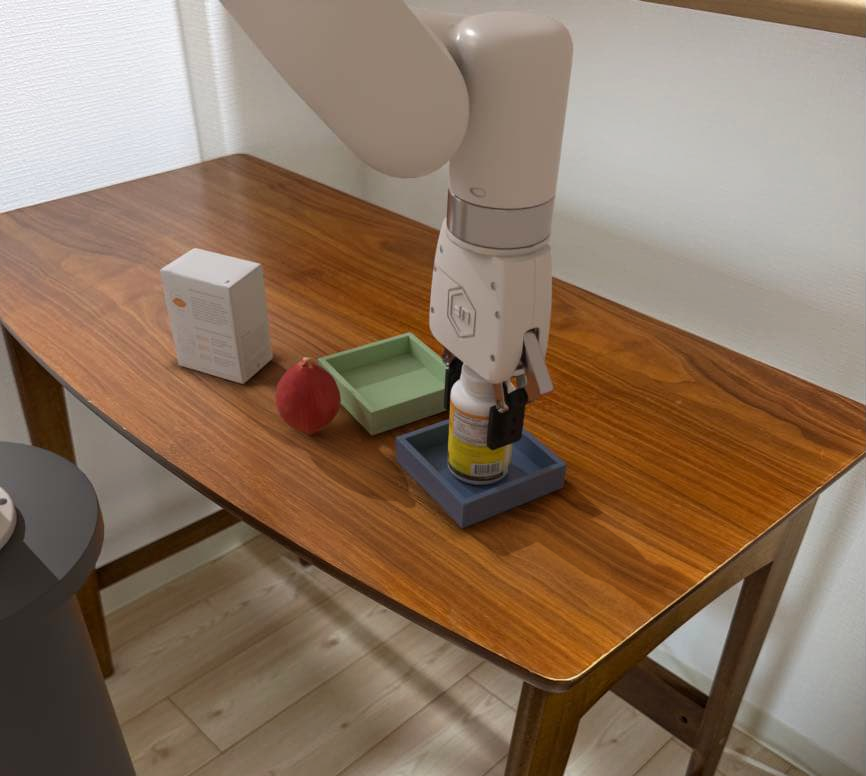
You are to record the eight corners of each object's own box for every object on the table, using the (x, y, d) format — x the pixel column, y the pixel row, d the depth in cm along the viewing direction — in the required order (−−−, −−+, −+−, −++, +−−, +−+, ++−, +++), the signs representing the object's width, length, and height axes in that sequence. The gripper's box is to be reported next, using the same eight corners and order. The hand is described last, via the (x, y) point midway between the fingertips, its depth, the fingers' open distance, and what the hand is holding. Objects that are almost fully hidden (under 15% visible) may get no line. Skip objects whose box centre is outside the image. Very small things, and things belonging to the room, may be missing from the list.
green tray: (371, 436, 83) (371, 412, 82) (318, 381, 90) (317, 358, 88) (467, 403, 88) (468, 381, 86) (410, 353, 94) (410, 331, 93)
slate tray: (461, 529, 74) (463, 504, 73) (395, 460, 81) (395, 437, 79) (563, 487, 79) (567, 464, 77) (492, 426, 85) (494, 402, 84)
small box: (274, 360, 93) (264, 263, 86) (243, 386, 89) (230, 287, 82) (209, 341, 95) (194, 245, 88) (176, 366, 91) (158, 268, 84)
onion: (266, 428, 84) (258, 353, 78) (318, 407, 87) (313, 333, 81) (301, 458, 81) (295, 382, 75) (353, 435, 83) (351, 360, 78)
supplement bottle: (473, 441, 82) (481, 342, 75) (522, 467, 80) (535, 367, 73) (433, 469, 79) (437, 368, 72) (482, 497, 76) (492, 395, 70)
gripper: (392, 182, 68) (391, 387, 80) (530, 274, 57) (505, 494, 69) (474, 165, 71) (461, 365, 83) (619, 250, 60) (580, 464, 73)
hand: (481, 422), depth 76 cm, fingers closed on supplement bottle, 5 cm apart
